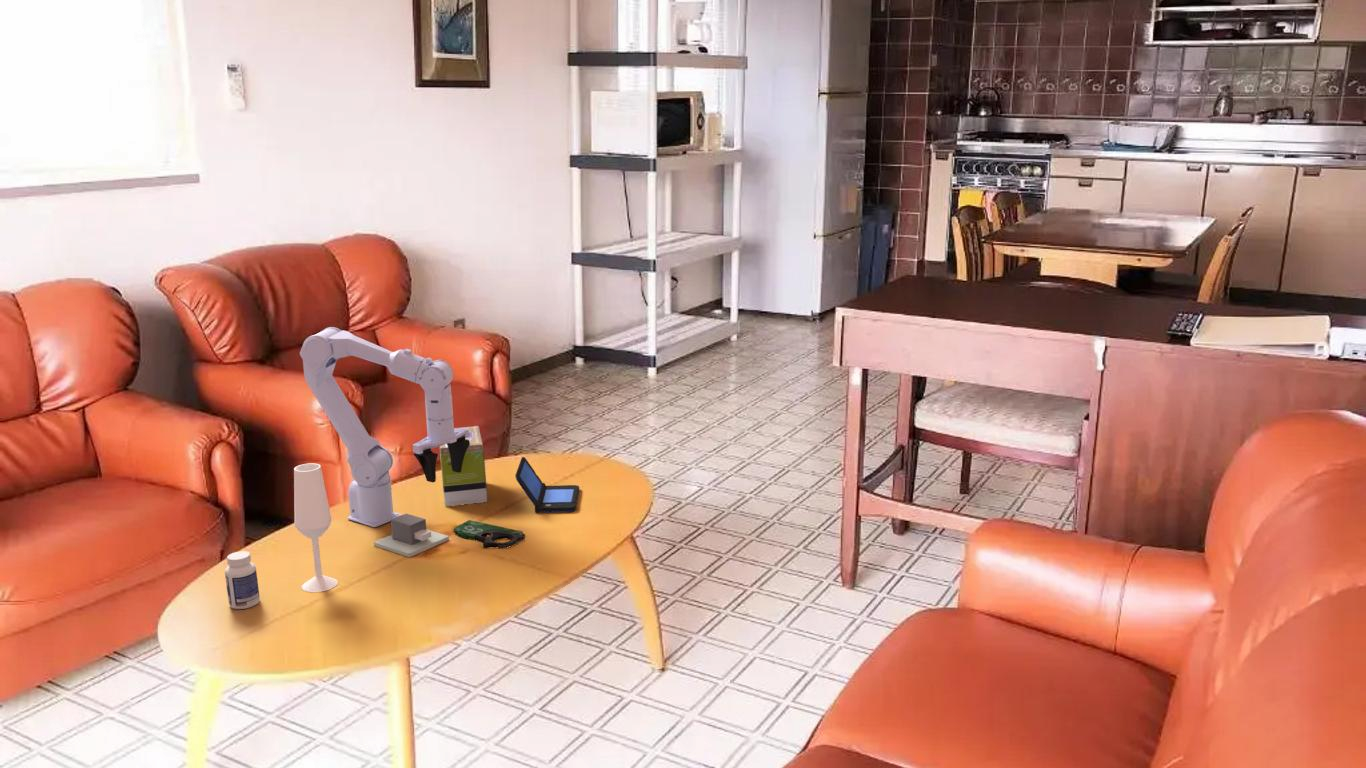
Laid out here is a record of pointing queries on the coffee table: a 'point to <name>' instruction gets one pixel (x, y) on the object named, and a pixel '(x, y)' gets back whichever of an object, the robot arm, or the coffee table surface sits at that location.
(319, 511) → the champagne flute
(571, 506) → the handheld game console
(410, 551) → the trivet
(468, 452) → the tea box
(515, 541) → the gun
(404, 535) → the connector plug
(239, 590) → the pill bottle
